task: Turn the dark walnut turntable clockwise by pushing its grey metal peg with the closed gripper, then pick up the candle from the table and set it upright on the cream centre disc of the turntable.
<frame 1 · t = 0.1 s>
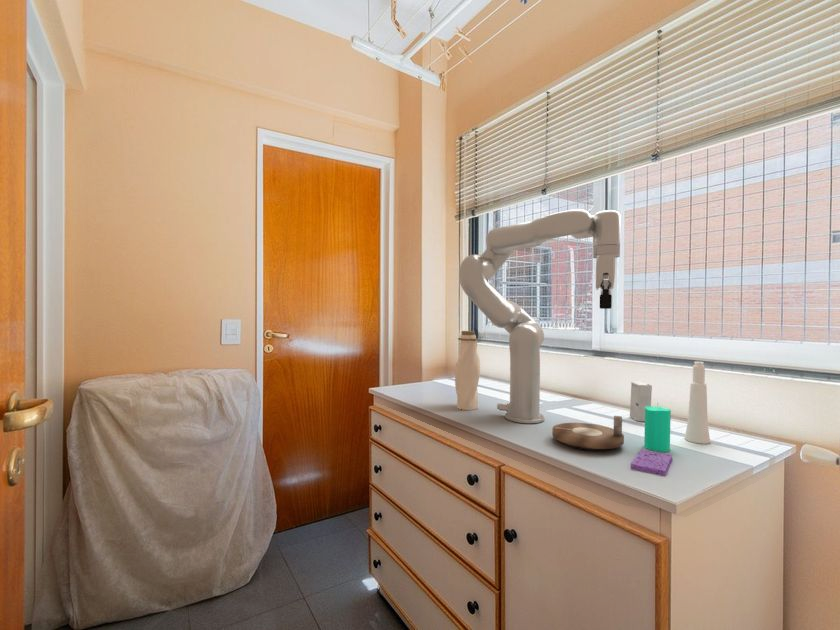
hand: (605, 308, 128), 37 cm above the table, tool pointing down, fingers open, 9 cm apart
sponges: (652, 467, 99), on the table
skincare box: (640, 420, 139), on the table
cosmetic bottle: (697, 441, 117), on the table
turntable base: (586, 443, 114), on the table
water bottle: (467, 407, 154), on the table
turntable: (587, 425, 114), point 5 cm above the table, hinge at 0.0°
candle: (656, 448, 111), on the table
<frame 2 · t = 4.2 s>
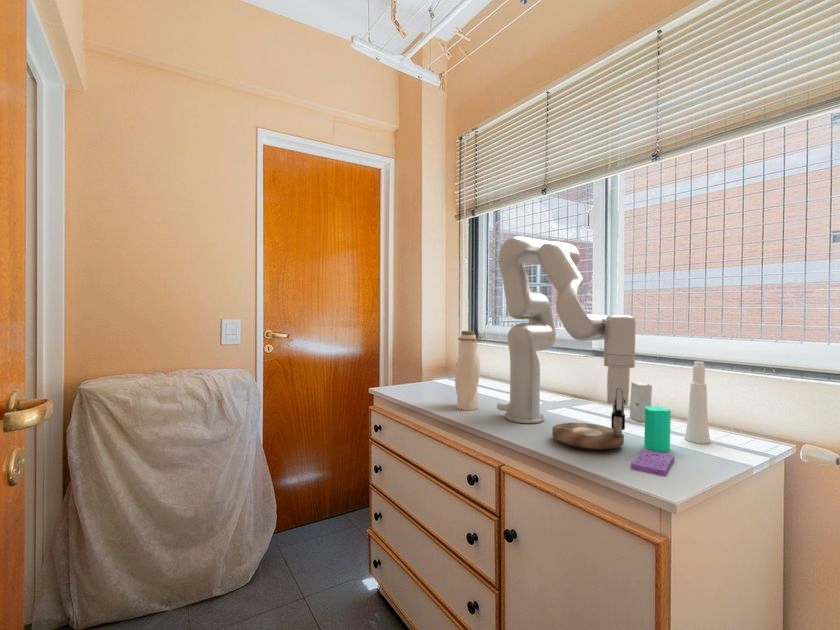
hand: (617, 428, 113), 4 cm above the table, tool pointing down, fingers closed
turntable: (587, 425, 114), point 5 cm above the table, hinge at -6.5°, touching gripper
everything else where it was.
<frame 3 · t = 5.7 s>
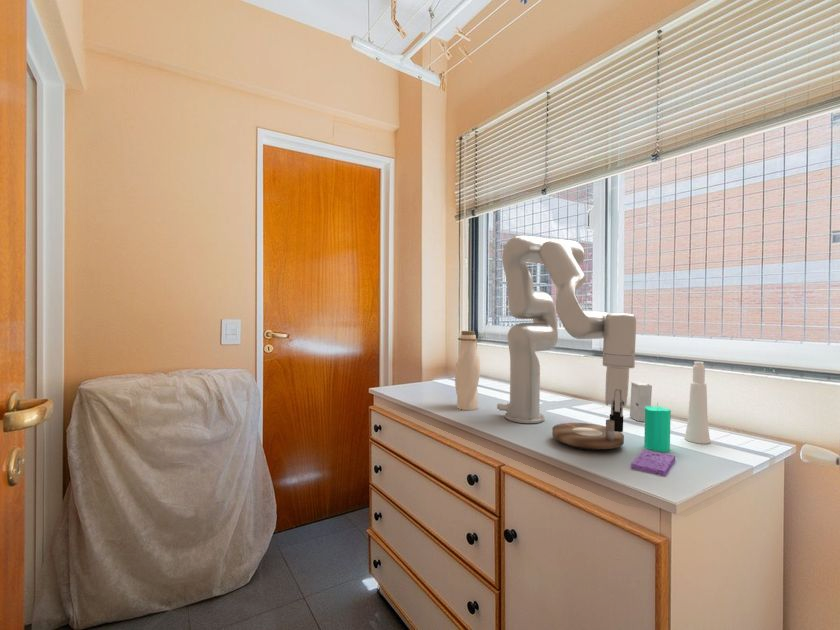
hand: (616, 430, 109), 5 cm above the table, tool pointing down, fingers closed
turntable: (587, 425, 114), point 5 cm above the table, hinge at -41.7°
everything else where it was.
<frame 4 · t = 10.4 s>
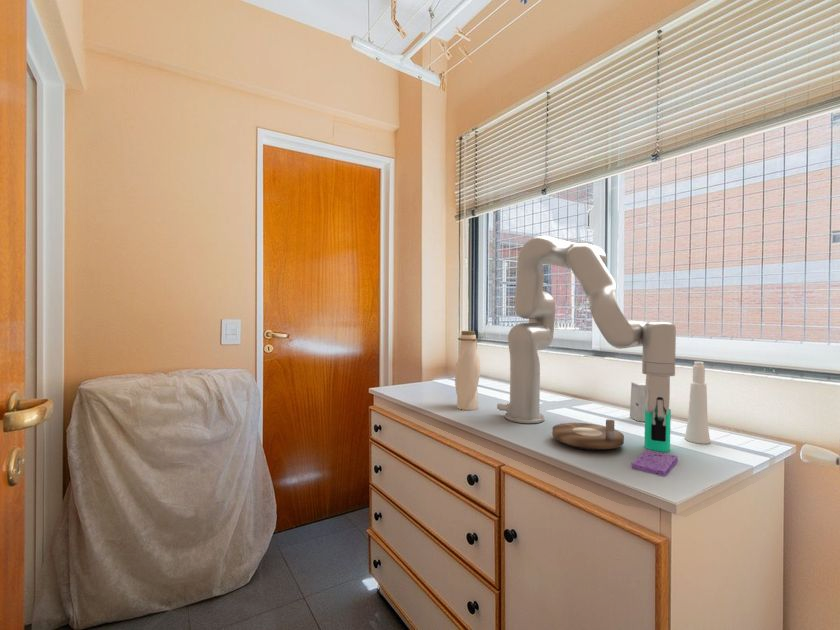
hand: (657, 436, 111), 3 cm above the table, tool pointing down, fingers closed on candle, 4 cm apart
candle: (656, 448, 111), on the table, touching gripper
everything else where it was.
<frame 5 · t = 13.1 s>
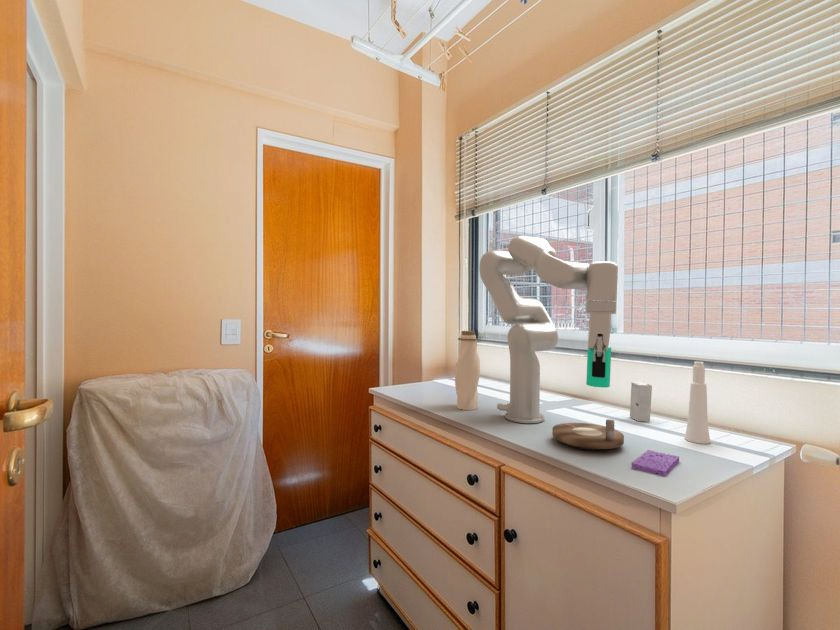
hand: (598, 374, 114), 19 cm above the table, tool pointing down, fingers closed on candle, 4 cm apart
candle: (597, 385, 114), point 16 cm above the table, touching gripper
everything else where it was.
when the fingers open (7 cm above the table, at t = 16.1 s): candle stays where it is, resting on turntable.
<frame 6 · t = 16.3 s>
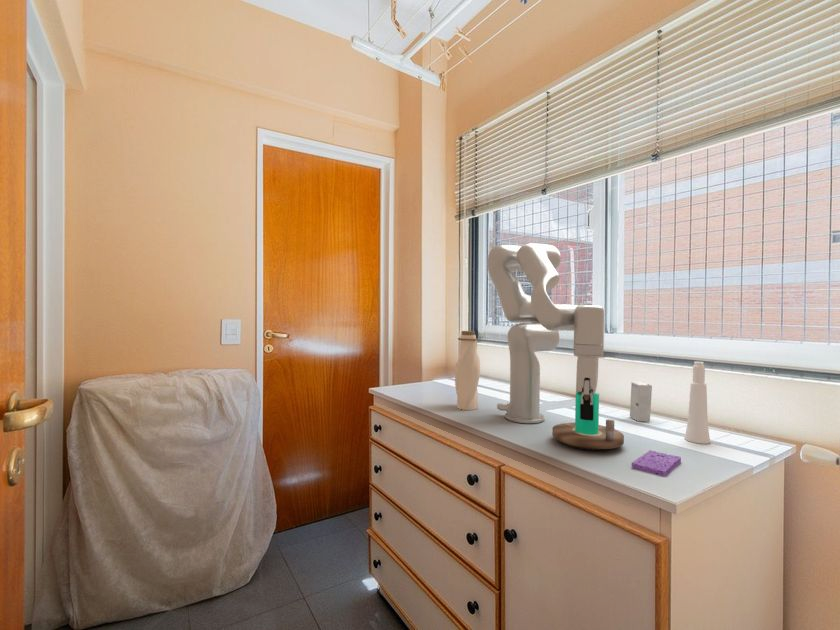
hand: (587, 415, 114), 7 cm above the table, tool pointing down, fingers open, 6 cm apart
turntable: (587, 425, 114), point 5 cm above the table, hinge at -41.7°, touching candle
candle: (586, 432, 114), point 3 cm above the table, touching turntable
everything else where it was.
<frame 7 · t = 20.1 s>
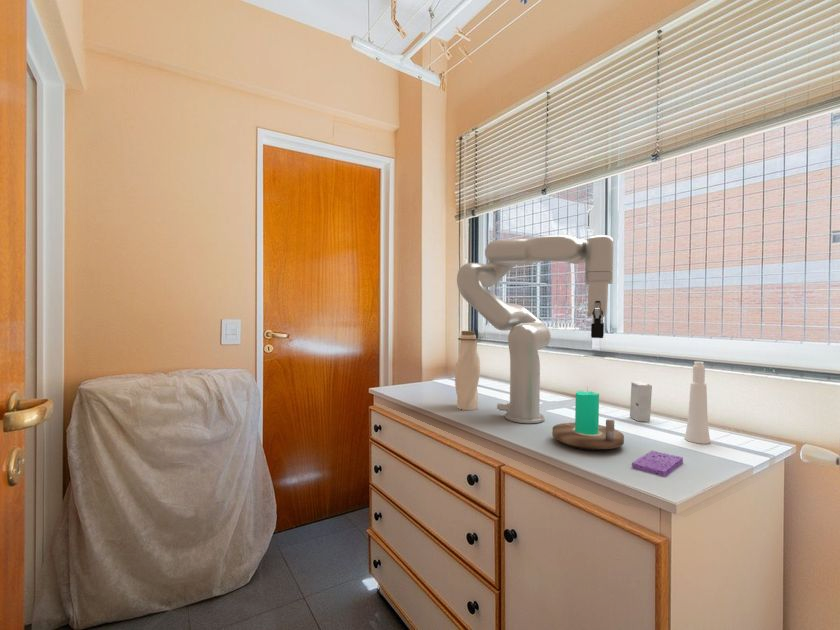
hand: (597, 336, 124), 28 cm above the table, tool pointing down, fingers open, 9 cm apart
at the end: candle 0.2 cm from the turntable (horizontally); candle tilted 0°; turntable at -42° (first picture: +0°) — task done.
